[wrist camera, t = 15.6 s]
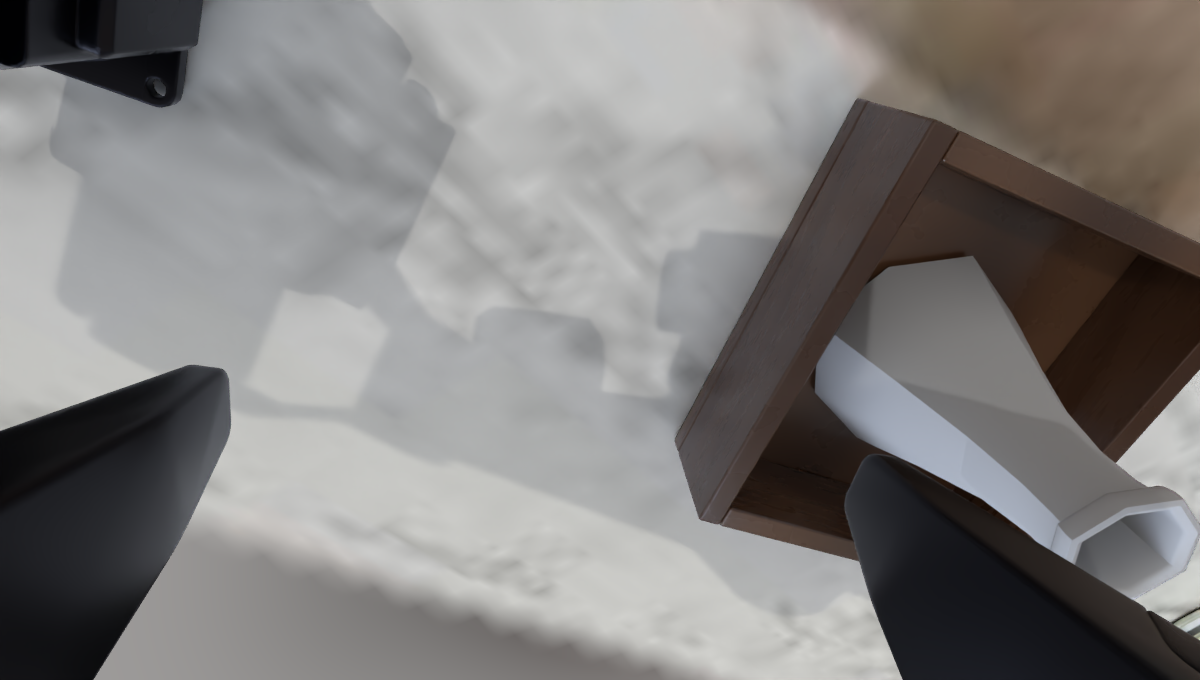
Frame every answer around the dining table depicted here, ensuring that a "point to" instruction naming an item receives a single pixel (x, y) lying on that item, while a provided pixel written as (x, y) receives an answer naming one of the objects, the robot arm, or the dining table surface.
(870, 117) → the crate
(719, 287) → the dining table surface
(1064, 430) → the flask
